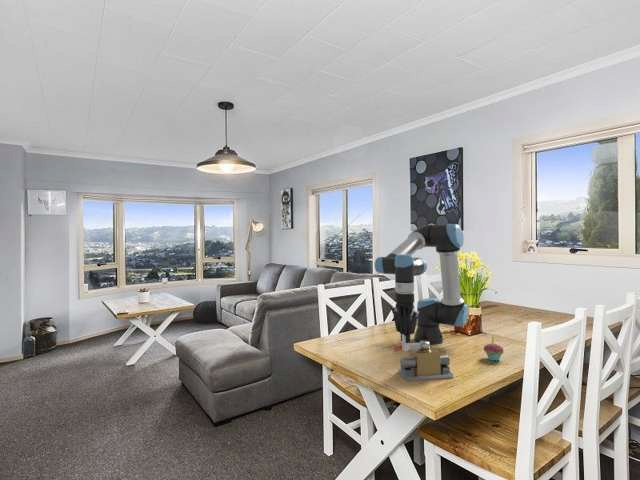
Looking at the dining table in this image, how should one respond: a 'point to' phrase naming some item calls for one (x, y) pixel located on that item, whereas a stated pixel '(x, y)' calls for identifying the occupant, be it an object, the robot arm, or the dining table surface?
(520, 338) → the dining table surface
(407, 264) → the robot arm
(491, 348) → the cupcake
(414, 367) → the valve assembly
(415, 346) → the lever
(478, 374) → the dining table surface
